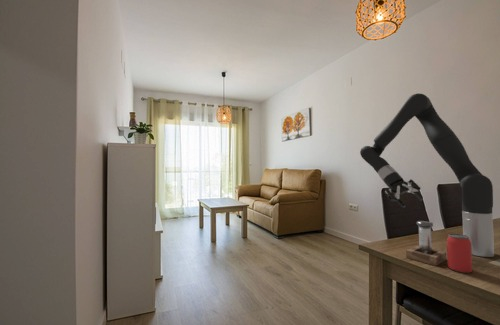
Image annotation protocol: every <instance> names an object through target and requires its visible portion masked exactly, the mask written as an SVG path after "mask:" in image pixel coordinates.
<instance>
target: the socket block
mask: <svg viewBox="0 0 500 325" xmlns="http://www.w3.org/2000/svg"><path fill="white" fill-rule="evenodd" d="M405 254H406V257H405V258H406V259H409V260H412V261H413V260H414V261H417V262H421V263H424V264H428V265H430V266H435V267H437V266H439V265H440V264H442V263H444V262H445V261H446V260H447V251H443V250H440V249H439V250H438V249H435V248H434V249H433V248H432V255H430V254H426V253H421V252H419V245H415V246H413V247H411V248H409V249H406V250H405Z"/></svg>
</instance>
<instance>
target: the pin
mask: <svg viewBox="0 0 500 325" xmlns="http://www.w3.org/2000/svg"><path fill="white" fill-rule="evenodd" d="M433 224H434V223H433V222H431V221H426V220H425V221H424V220H417V221H416V225H417V226H418V244H419V245H418V246H419V252H421V253H426V254H430V255H432V249H433V248H432V247H433V246H432V244H433V243H432V227H433V226H434V225H433Z"/></svg>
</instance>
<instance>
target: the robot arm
mask: <svg viewBox="0 0 500 325" xmlns="http://www.w3.org/2000/svg"><path fill="white" fill-rule="evenodd" d="M414 117H415V118H416V119H417V120H418V122H420V124H421V126H422V127H423V129H424V132H425V135H426V137H427V139H428V140H429V143H430V144H431V146H432V147H433V148H434V149H435V151H436V152H437V154H438V155H439V157H441V159H442V160H443V161H444V162H445V163H446V164H447V165H448V166H449V167H450V169H451V170H452V171H453V173H454V174H455V176H456V179H457V180H458V182H459V185H460V187H461V199H462V200H461V213H462V214H461V215H462V235H466V236H468V237H469V239H470V241H471V247H472V256H473V255H474V256H477V257H485V258H491V257H492V258H493V257H494V256H495V242H494V240H495V239H494V220H493V219H494V218H493V208H494V189H493V188H494V187H493V182H492V181H491V180H490V178H489V177H487V176H486V175H484V174H483V173H481V171H479V169H478V168H477V167H476V166H475V165H474V164H473V162H472V160H471V159H470V157H469V155H468V152H467V151H466V148H465V147H464V145H463V143H462V142H461V140H460V138H459V137H458V136H457V135H456V134H455V132H454V131H453V130H452V128H451V127H450V126H449V125H448V124H447V123H446V122H445V121H444V120H443V119H442V118H441V116H440V115H439V114H438V112H437V111H436V109H435V106H434V105H433V104H432V102H431V99H430V98H429V96H427V95H426V94H424V93H413V94H412V95H410V96H409V97H408V98H407V99H406V101H405V102H404V104H403V105H402V106H401V108H400V109H399V111H398V112H397V113H396V115H394V117H393V118H392V119H391V120H390V122H388V124H386V125H385V127H384V128H383V129H382V130H381V131H380V132H379V133H378V134H377V135H376V137H374V138H373V143H374V144H372V146H370V145H365V146H363V147H361V149H360V152H359V154H360V157H361V158H362V160H363V161H364V162H366V163H367V164H368V165H369V166H371V167H372V168H373V170H374V171H375V173H377V175H378V176H379V178H380V180H382V181H383V182H384V184H385V185H386V186H387V188H385V191H384V193H385V195H386V197H387V198H388V199H389V200H390V202H396V203H397V204H398V205H399V206H400V207H401V208H406V205H407V204H406V203H405V202H404V201H403V200H402V198H401V197H400V195H401V196H402V194H406V193H410V194H413V195H414V196H415V197H416V198H417V200H418V201H419V202H421V201H423V200H424V197H423V194H421V193H420V190H421V186H420V185H419V184H417V183H416V182H415V181H414V180H413V179H409V180H408V181H405V180H404V179H403V177H402V176H401V175H400V174H399V172H398V171H397V170H396V169H395V168H394V167H393V166H391V165H390V163H388V161H387V160H386V159H384V158H383V157H381V155H382V153H383V152H384V151H385V149H386V147H388V146H389V145H390V143H391V142H393V140H394V139H396V137H397V136H398V135H399V134H400V132H401V131H402V130H403V128H404V127H405V126H406V124H408V122H409V121H410V120H412V119H413V118H414ZM392 192H393V193H392ZM393 194H394V195H393Z"/></svg>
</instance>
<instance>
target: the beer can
mask: <svg viewBox="0 0 500 325" xmlns="http://www.w3.org/2000/svg"><path fill="white" fill-rule="evenodd" d="M447 236H448V237H447V239H446V260H447V267H448V268H449V269H450V270H451V271H455V272H458V273H463V274H468V273H472V272H473V255H472V247H471V241H470V239H469V237H468V236H466V235H463V233H462V234H461V233H448V235H447Z"/></svg>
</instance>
